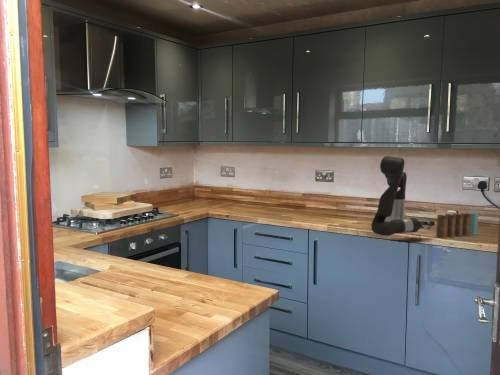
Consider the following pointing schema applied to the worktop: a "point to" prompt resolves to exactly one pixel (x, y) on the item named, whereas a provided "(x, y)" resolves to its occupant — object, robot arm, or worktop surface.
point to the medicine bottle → (452, 211)
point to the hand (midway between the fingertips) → (433, 223)
